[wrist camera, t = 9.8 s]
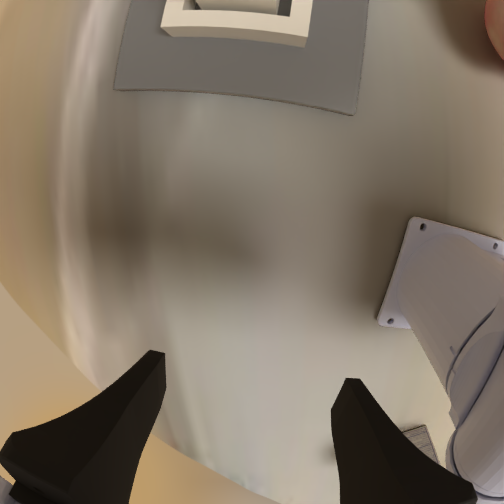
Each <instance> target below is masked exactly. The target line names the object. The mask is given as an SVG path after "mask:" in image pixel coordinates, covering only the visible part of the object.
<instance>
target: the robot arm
mask: <svg viewBox="0 0 504 504" xmlns="http://www.w3.org/2000/svg"><path fill="white" fill-rule="evenodd" d="M423 223H424V228H423V229H420V225H421V224H423ZM494 243H495V245H494ZM493 245H494V247H493ZM390 318H392V320H391V321H388V320H389V319H390ZM377 322H378V324H379V325H380V326H385V327H395V328H406V329H412V330H413V332H414V334H415V335H416V337H417V339H418V341H419V342H420V344H421V346H422V348H423V350H424V351H425V353H426V355H427V357H428V359H429V360H430V362H431V364H432V366H433V368H434V370H435V372H436V373H437V375H438V377H439V379H440V381H441V383H442V385H443V387H444V389H445V391H446V393H447V395H448V397H449V399H450V401H451V409H450V411H449V415H450V417H451V419H452V421H453V423H454V426H455V428H456V430H455V431H454V433H453V434H452V436H451V437H450V440H449V442H448V445H447V449H446V459H445V461H446V468H447V469H445V468H444V467H442V466H440V465H439V464H438V463H436V462H435V461H433V460H432V459H431V458H429V457H428V456H427V455H426V454H424V453H423V452H422V451H421V450H420V449H418V448H417V447H416V446H415V445H414V444H413V443H412V442H411V441H410V440H409V439H408V438H407V437H406V436H405V435H404V434H403V433H402V432H401V431H400V430H399V429H398V427H397V426H396V425H395V424H394V423H393V422H392V420H391V419H390V418H389V417H388V416H387V414H386V413H385V412H384V410H383V409H382V408H381V407H380V405H379V404H378V403H377V401H376V400H375V399H374V397H373V396H372V394H371V393H370V392H369V390H368V389H367V388H366V386H365V385H364V384H363V382H362V381H361V380H360V379H356V378H346V379H345V381H344V384H343V386H342V388H341V390H340V392H339V394H338V396H337V398H336V400H335V402H334V404H333V406H332V408H331V428H332V436H333V442H334V448H335V454H336V460H337V466H338V472H339V480H340V504H476V503H478V504H504V241H502V240H499V239H496V238H493V237H489V236H486V235H483V234H479V233H476V232H472V231H469V230H465V229H462V228H458V227H454V226H451V225H447V224H443V223H439V222H436V221H432V220H428V219H424V218H420V217H412V218H411V219H410V220H409V222H408V226H407V229H406V233H405V236H404V240H403V243H402V247H401V250H400V253H399V256H398V260H397V263H396V266H395V269H394V272H393V275H392V278H391V281H390V284H389V287H388V289H387V292H386V295H385V298H384V301H383V303H382V306H381V309H380V311H379V314H378V317H377ZM165 391H166V370H165V353H162V352H158V351H153V350H149V351H148V352H147V353H146V354H145V355H144V356H143V357H142V358H141V359H140V360H139V361H138V362H136V363H135V364H134V365H133V366H132V367H131V368H130V369H129V370H128V371H127V372H126V373H124V374H123V375H122V376H121V377H120V378H119V379H118V380H116V381H115V382H114V383H113V384H111V385H110V386H109V387H108V388H106V389H105V390H104V391H102V392H101V393H100V394H98V395H97V396H95V397H94V398H93V399H91V400H90V401H88V402H86V403H85V404H83V405H82V406H80V407H78V408H76V409H74V410H73V411H71V412H69V413H67V414H65V415H63V416H61V417H58V418H56V419H54V420H51V421H49V422H46V423H44V424H41V425H38V426H36V427H32V428H28V429H24V430H21V431H17V432H13V433H12V434H11V435H10V437H9V438H8V439H7V441H6V442H5V444H4V446H3V448H2V449H1V451H0V463H1V465H2V466H3V467H4V468H5V469H6V470H7V471H8V473H9V474H10V475H11V476H12V477H13V478H14V479H15V480H16V481H15V483H14V485H12V484H11V483H9V482H8V481H7V480H5V479H4V478H2V477H1V476H0V504H129V499H130V494H131V490H132V486H133V482H134V478H135V474H136V470H137V467H138V463H139V459H140V457H141V453H142V451H143V448H144V446H145V444H146V441H147V439H148V437H149V434H150V432H151V430H152V427H153V425H154V423H155V420H156V418H157V416H158V413H159V411H160V408H161V405H162V401H163V398H164V394H165Z"/></svg>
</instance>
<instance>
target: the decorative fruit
mask: <svg viewBox="0 0 504 504" xmlns="http://www.w3.org/2000/svg"><path fill="white" fill-rule="evenodd" d="M484 19H485V26H486V30H487V33H488V36H489V38H490V40H491V43H492V44H493V46H494V48H495V50H496V51H497V53H498V54H499V55H500V57H501V58H502V59H503V61H504V0H486V4H485V12H484Z"/></svg>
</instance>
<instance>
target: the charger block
mask: <svg viewBox="0 0 504 504" xmlns="http://www.w3.org/2000/svg"><path fill="white" fill-rule="evenodd" d="M196 2H197V3H198V5H199V7H200V8H201V10H222V11H240V12H253V13H263V14H272V15H277V14H278V8H279V3H280V0H196Z"/></svg>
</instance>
